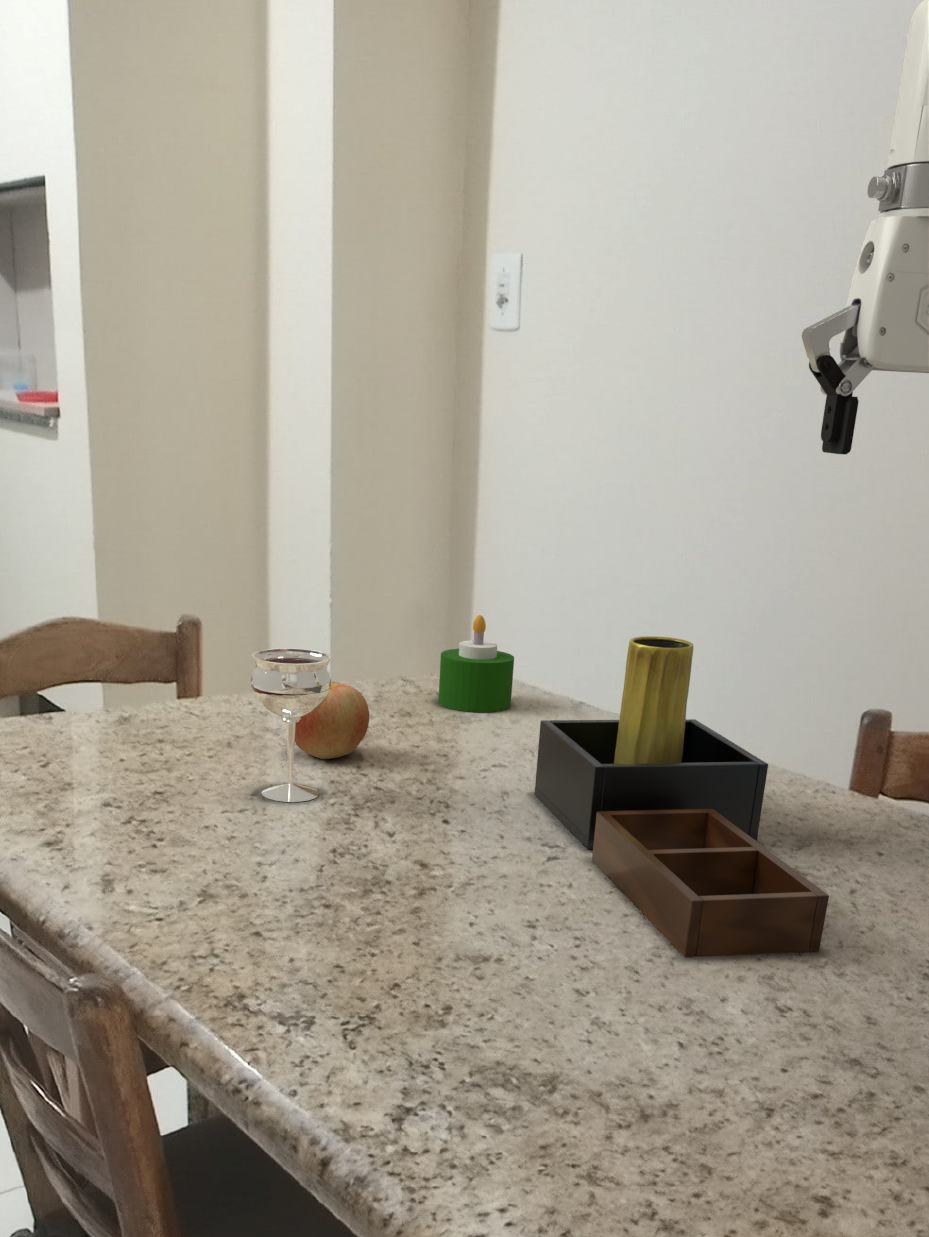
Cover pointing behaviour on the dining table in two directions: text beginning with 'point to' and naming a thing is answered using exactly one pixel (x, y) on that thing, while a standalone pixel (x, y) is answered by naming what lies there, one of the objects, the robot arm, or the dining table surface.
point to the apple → (334, 724)
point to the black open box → (644, 777)
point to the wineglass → (291, 700)
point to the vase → (654, 701)
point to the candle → (476, 675)
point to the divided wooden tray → (708, 883)
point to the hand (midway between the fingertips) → (893, 455)
